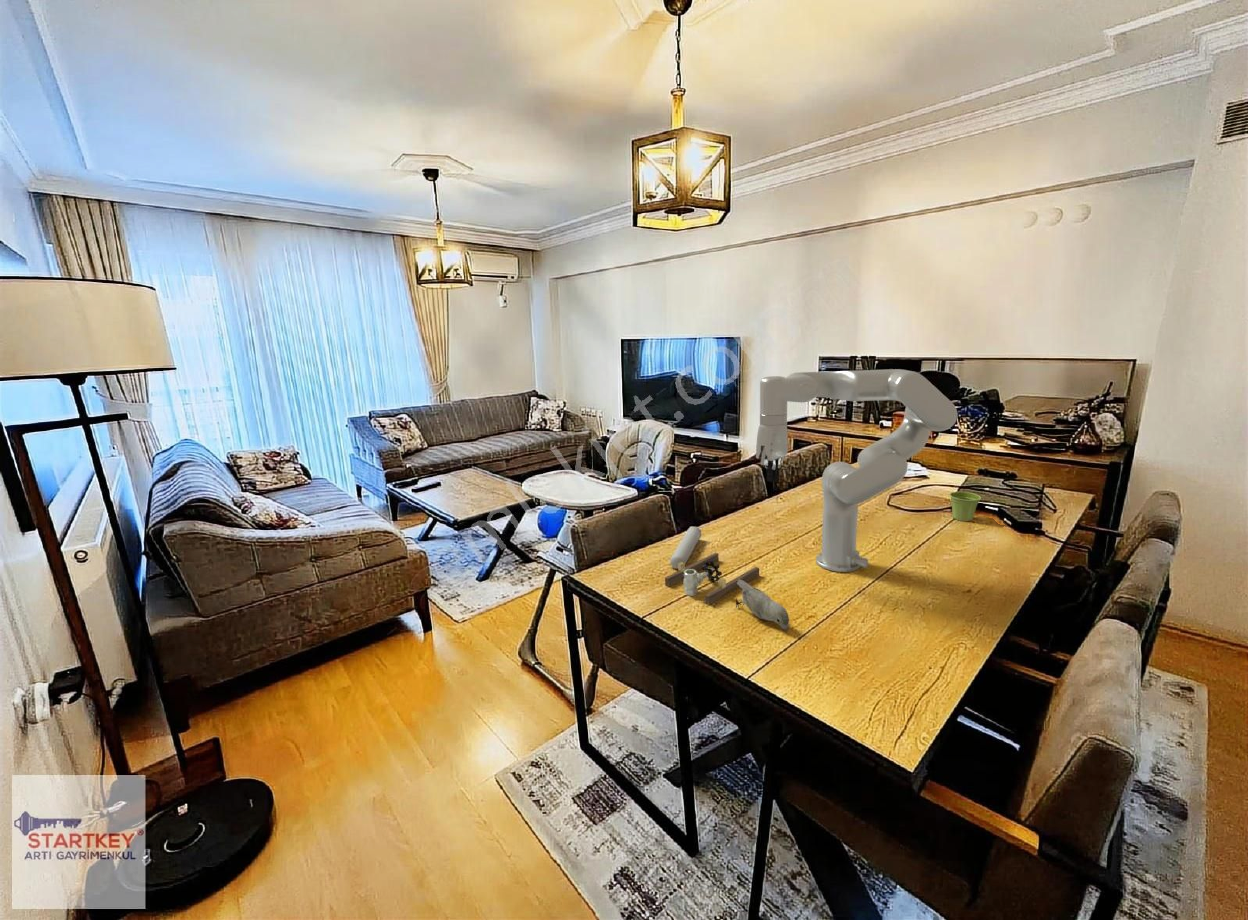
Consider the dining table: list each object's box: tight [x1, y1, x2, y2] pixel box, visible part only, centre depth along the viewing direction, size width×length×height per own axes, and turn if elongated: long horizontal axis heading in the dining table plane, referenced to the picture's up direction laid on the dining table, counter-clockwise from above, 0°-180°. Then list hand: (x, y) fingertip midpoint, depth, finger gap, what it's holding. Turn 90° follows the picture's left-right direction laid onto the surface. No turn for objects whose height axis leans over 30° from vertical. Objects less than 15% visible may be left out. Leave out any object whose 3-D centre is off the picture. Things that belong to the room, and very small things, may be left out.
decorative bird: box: [734, 580, 790, 632], centre depth 130 cm, size 5×16×7 cm, turn 32°
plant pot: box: [949, 491, 982, 522], centre depth 184 cm, size 9×9×9 cm
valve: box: [682, 560, 723, 597], centre depth 147 cm, size 7×7×12 cm
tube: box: [669, 526, 702, 570], centre depth 170 cm, size 5×5×25 cm
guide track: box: [664, 552, 760, 606], centre depth 151 cm, size 16×23×5 cm
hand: (772, 481), depth 152 cm, fingers closed
